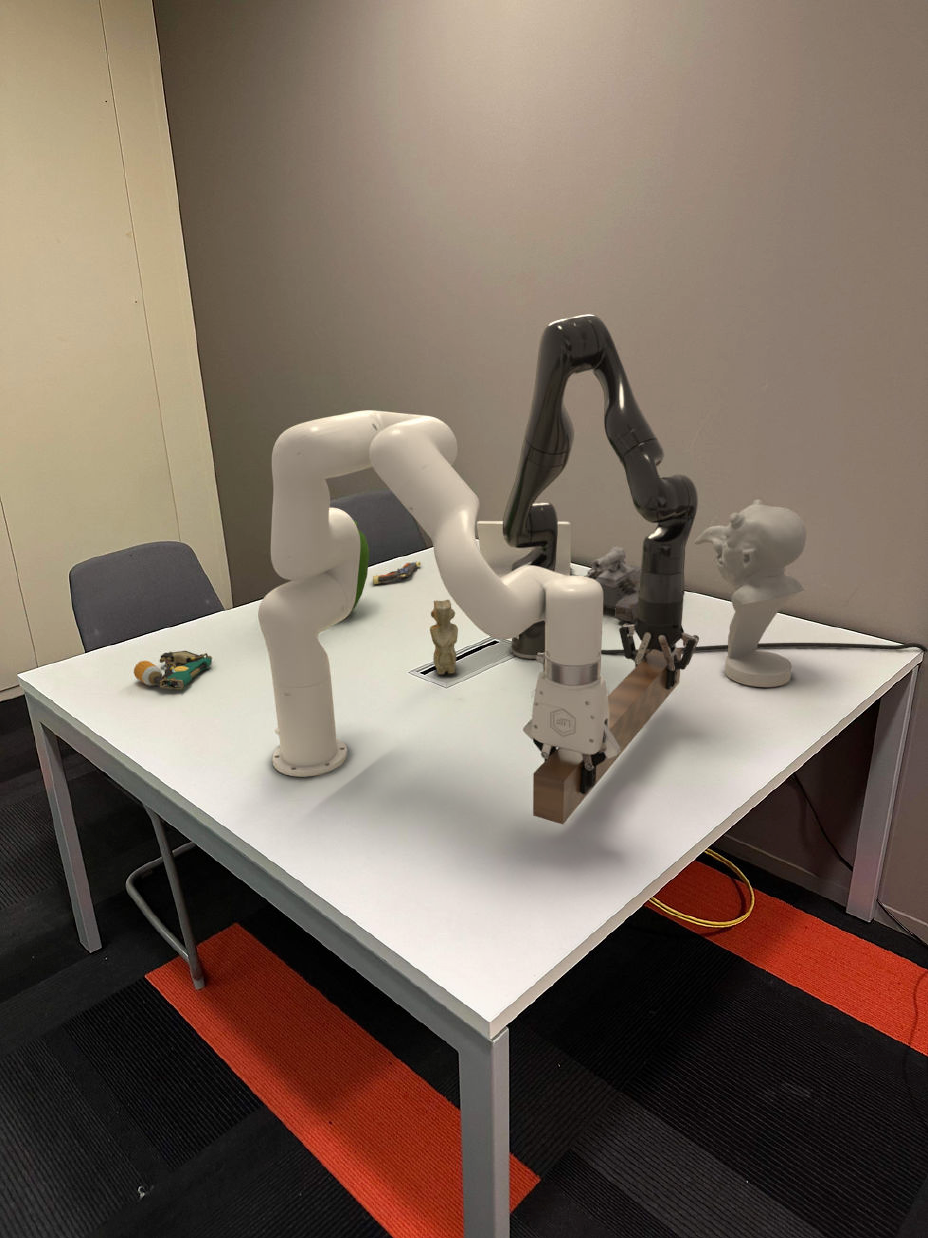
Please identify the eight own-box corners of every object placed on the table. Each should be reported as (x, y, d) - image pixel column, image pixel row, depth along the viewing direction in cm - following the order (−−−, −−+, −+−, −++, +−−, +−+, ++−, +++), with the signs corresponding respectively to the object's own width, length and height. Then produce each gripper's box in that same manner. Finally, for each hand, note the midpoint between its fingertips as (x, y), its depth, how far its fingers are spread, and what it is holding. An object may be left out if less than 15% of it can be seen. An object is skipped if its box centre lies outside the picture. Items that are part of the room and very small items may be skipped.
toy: (603, 584, 229) (605, 530, 224) (673, 597, 218) (677, 540, 213) (555, 612, 210) (556, 553, 205) (630, 627, 199) (633, 566, 194)
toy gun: (370, 576, 233) (405, 573, 231) (388, 561, 251) (421, 558, 249) (371, 586, 234) (406, 583, 232) (389, 570, 252) (422, 567, 250)
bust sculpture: (725, 639, 191) (739, 484, 178) (813, 678, 171) (835, 506, 158) (670, 654, 184) (680, 494, 171) (754, 696, 164) (772, 518, 151)
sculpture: (458, 662, 183) (456, 596, 178) (460, 676, 176) (457, 608, 171) (431, 663, 183) (428, 597, 177) (431, 677, 176) (428, 609, 171)
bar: (655, 678, 159) (657, 644, 156) (679, 682, 156) (681, 648, 154) (533, 815, 118) (533, 773, 115) (563, 824, 115) (563, 781, 113)
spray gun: (177, 659, 191) (231, 671, 185) (120, 684, 176) (176, 698, 171) (176, 641, 190) (230, 653, 184) (118, 665, 175) (174, 678, 169)
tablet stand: (569, 585, 229) (570, 524, 223) (476, 584, 232) (475, 523, 226) (570, 566, 246) (571, 508, 240) (484, 564, 249) (483, 507, 243)
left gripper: (504, 665, 116) (504, 781, 123) (622, 691, 108) (616, 814, 115) (528, 646, 122) (528, 758, 129) (642, 669, 114) (635, 787, 121)
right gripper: (613, 594, 145) (609, 684, 152) (696, 607, 138) (688, 701, 145) (628, 581, 151) (624, 669, 158) (709, 593, 144) (701, 684, 151)
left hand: (569, 783), depth 122 cm, fingers closed on bar, 4 cm apart
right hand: (655, 684), depth 151 cm, fingers closed on bar, 4 cm apart
